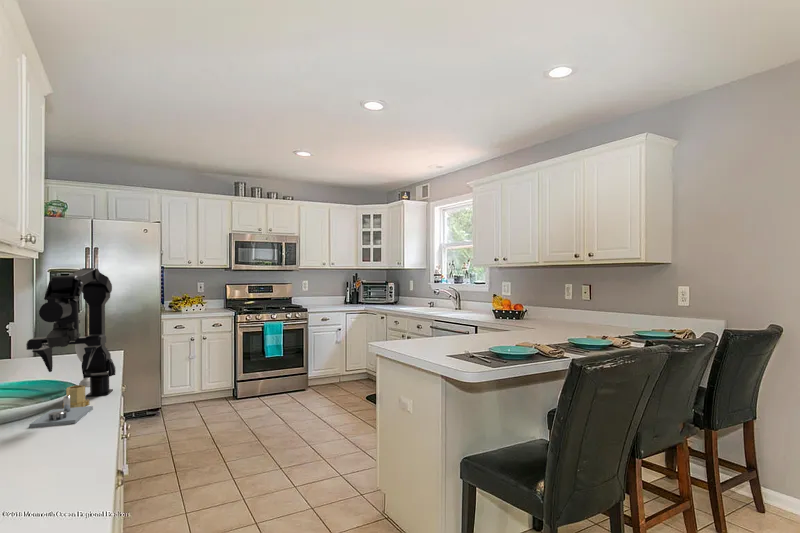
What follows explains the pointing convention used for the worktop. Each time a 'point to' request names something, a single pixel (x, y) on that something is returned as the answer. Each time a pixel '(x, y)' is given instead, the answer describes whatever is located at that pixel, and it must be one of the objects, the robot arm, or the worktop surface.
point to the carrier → (62, 415)
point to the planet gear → (77, 396)
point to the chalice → (80, 353)
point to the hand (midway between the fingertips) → (68, 370)
